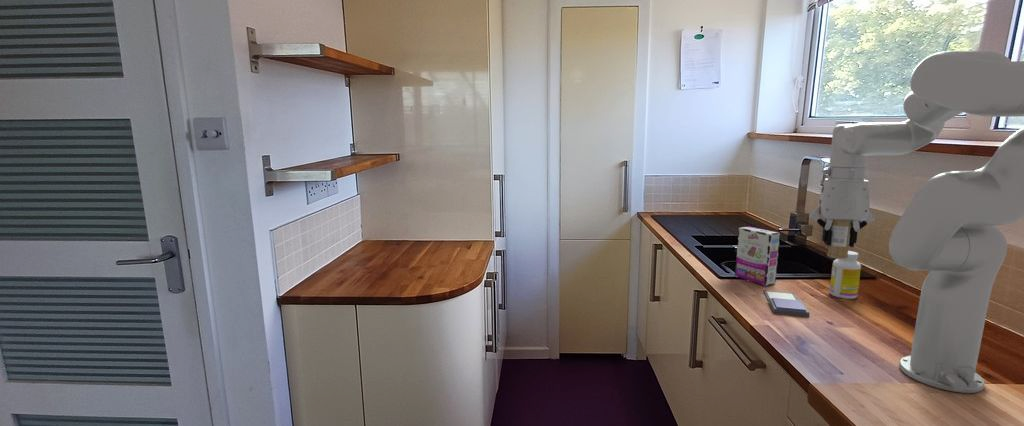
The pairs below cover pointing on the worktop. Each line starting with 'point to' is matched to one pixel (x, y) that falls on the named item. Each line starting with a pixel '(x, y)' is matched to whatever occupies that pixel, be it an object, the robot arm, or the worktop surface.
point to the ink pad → (788, 307)
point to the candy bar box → (757, 255)
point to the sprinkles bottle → (839, 239)
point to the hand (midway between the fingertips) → (838, 244)
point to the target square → (779, 295)
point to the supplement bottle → (845, 277)
